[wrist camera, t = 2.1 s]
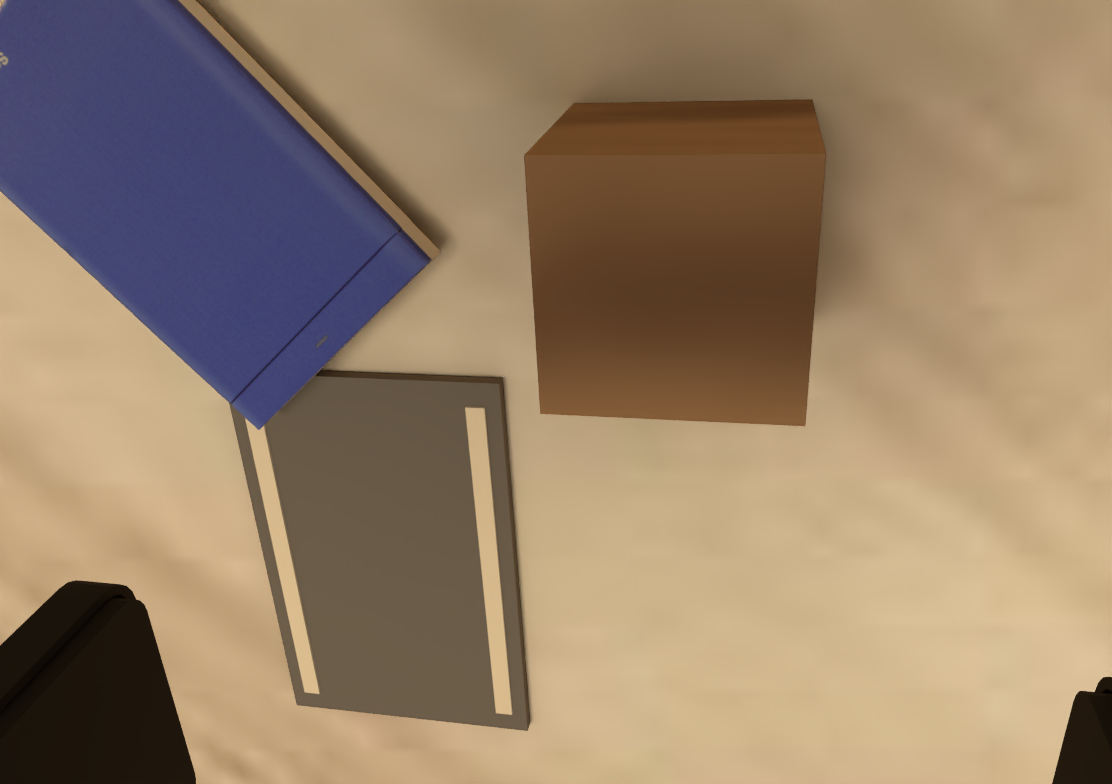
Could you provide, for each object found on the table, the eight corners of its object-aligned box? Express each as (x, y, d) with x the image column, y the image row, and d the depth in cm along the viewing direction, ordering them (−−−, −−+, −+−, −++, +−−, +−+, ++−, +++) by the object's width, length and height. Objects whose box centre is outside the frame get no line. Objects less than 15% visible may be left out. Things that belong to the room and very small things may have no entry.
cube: (574, 102, 25) (523, 155, 20) (812, 98, 24) (826, 153, 19) (582, 317, 28) (540, 413, 22) (796, 322, 26) (805, 426, 21)
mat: (228, 367, 31) (220, 373, 30) (502, 378, 29) (498, 385, 28) (301, 697, 37) (295, 706, 36) (529, 722, 35) (526, 732, 35)
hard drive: (-78, 128, 27) (254, 435, 29) (63, -104, 23) (427, 264, 26) (-36, 119, 28) (277, 412, 30) (102, -102, 25) (444, 247, 27)
